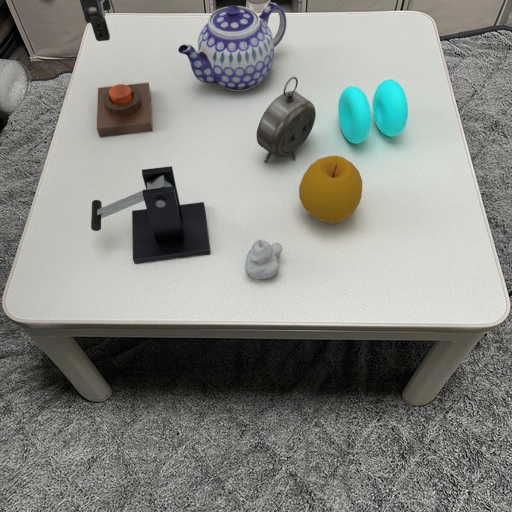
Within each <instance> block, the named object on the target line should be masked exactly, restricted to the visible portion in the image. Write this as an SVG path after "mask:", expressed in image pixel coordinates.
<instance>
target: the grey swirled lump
mask: <svg viewBox="0 0 512 512" xmlns="http://www.w3.org/2000/svg"><path fill="white" fill-rule="evenodd" d="M282 252H283V246H282V244H281V243H279V242H273V243H272V244H270V243H269V242H268V241H266V240H264V239H257V240H256V241H255V242H254V243H253V244H252V245H251V248H250V249H249V250H248V252H247V254H246V260H245V272H246V273H247V274H248V276H250V277H251V278H252V279H257V280H265V279H270V278H272V277H274V276H275V275H276V274H278V273H279V271H280V263H279V259H280V258H281V254H282Z"/></svg>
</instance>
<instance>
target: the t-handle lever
mask: <svg viewBox="0 0 512 512" xmlns="http://www.w3.org/2000/svg"><path fill="white" fill-rule="evenodd" d="M163 187H172V184H171V183H170V182H169V181H168V180H167V179H166V177H165V176H164V175H162V176H160V177H157V178H155V179H153V180H150V181H148V182H147V189H155V188H163ZM147 189H146V188H145V189H144V190H147ZM142 202H145V201H144V198H143V190H140V191H138V192H135V193H133V194H131V195H129V196H126V197H124V198H121V199H119V200H116V201H114V202H112V203H110V204H107V205H105V206H103V203H102V201H101V200H99V199H93V200H92V201H91V216H90V229H91V231H93V232H99V231H101V230H102V219H104V218H106V217H108V216H112V215H113V214H116V213H118V212H121V211H122V210H126V209H128V208H130V207H133V206H135V205H137V204H140V203H142Z"/></svg>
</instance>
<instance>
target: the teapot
mask: <svg viewBox="0 0 512 512" xmlns="http://www.w3.org/2000/svg"><path fill="white" fill-rule="evenodd" d="M275 10H276V11H277V14H278V17H279V25H278V29H277V31H276V34H275V35H274V37H273V33H272V30H271V28H270V26H269V25H268V24H269V19H270V16H271V14H272V12H274V11H275ZM286 29H287V15H286V13H285V11H284V9H283V8H282V7H281V5H279V4H277V3H276V2H269V3H267V5H266V6H265V7H264V8H263V10H262V11H261V14H258V13H257V12H256V11H254V10H253V9H252V8H249V7H246V6H242V5H237V4H231V5H228V6H224V7H221V8H219V9H216V10H215V11H213V12H211V14H210V15H209V18H208V21H207V23H205V24H204V26H203V27H202V28H201V30H200V31H199V35H198V40H197V50H196V49H195V48H196V47H193V46H192V45H191V44H189V43H184V44H181V45H180V46H178V49H177V50H178V53H179V54H181V55H182V54H183V55H186V56H187V58H188V61H189V64H190V69H191V71H192V73H193V75H194V77H195V78H196V80H197V81H199V82H200V83H203V84H208V85H209V84H211V85H212V84H213V85H214V84H215V85H218V86H219V87H221V88H223V89H224V90H228V91H231V92H246V91H249V90H251V89H254V88H255V87H256V86H258V85H259V84H260V83H261V82H262V80H264V79H265V78H266V77H267V75H269V73H270V71H271V68H272V66H273V62H274V57H275V48H276V47H277V46H278V45H279V44H280V43H281V41H282V40H283V38H284V37H285V36H284V35H285V33H286Z"/></svg>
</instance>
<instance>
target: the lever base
mask: <svg viewBox="0 0 512 512" xmlns="http://www.w3.org/2000/svg"><path fill="white" fill-rule="evenodd" d="M162 175H164V176H165V177H166V179H167V180H168V181H169V182H170V183H171V184H172V187H163V188H155V189H147V182H148V181H150V180H153V179H155V178H157V177H160V176H162ZM141 177H142V179H143V183H144V187H145V189H147V190H145V189H142V191H143V198H144V201H143V202H144V205H145V208H144V209H143V208H142V209H135V210H131V224H132V225H131V231H132V233H131V234H132V237H131V238H132V261H133V264H134V265H138V264H145V263H152V262H159V261H160V262H161V261H167V260H168V261H169V260H174V259H183V258H190V257H191V258H192V257H199V256H206V255H211V248H210V239H209V230H208V222H207V214H206V207H205V202H204V201H201V202H192V203H185V204H181V203H180V198H179V193H178V187H177V183H176V177H175V174H174V168H173V166H172V165H170V166H161V167H153V168H152V167H151V168H144V169H141Z"/></svg>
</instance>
